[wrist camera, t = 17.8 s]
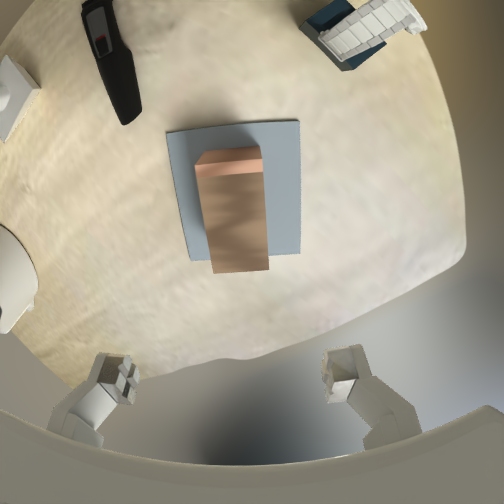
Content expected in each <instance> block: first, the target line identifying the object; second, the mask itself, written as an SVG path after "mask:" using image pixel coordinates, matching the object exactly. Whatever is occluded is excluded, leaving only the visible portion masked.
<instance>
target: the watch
mask: <svg viewBox="0 0 504 504" xmlns="http://www.w3.org/2000/svg"><path fill="white" fill-rule="evenodd" d="M384 27H385V28H384ZM299 29H300V30H301V31H302V32H303V33H304V34H305V35H306V36H307V37H308V38H309V39H311V40H312V41H313V42H314V43H315V44H316V45H317V46H318V47H319V48H320V49H321V50H322V51H323V52H324V53H325V54H326V55H327V56H328V57H329V58H330V59H331V60H332V61H333V63H334V64H335V65H336V66H337V67H338V68H339V69H340V70H341V71H349V70H354V69H355V68H357V67H358V66H359V65H360V64H362V63H363V62H364V61H366V60H367V59H368V58H369V57H371V56H372V55H373V54H375V53H376V52H377V51H378V50H380V49H381V48H382V47H384V46H385V45H386V44H387V43H386V42H385V41H384V40H386V39H388V38H389V37H391V36H393V35H395V34H396V33H398V32H399V31H401V30H403V29H405V30H406V31H407V32H409V33H411V34H417V33H419V32H421V31H422V30H424V31H425V30H427V26H426V24H425V22H424V20H423V19H422V17H421V16H420V14H419V13H418V11H417V10H416V9H415V7H414V6H413V5H412V4H411V2H410V1H409V0H370V1H368V2H367V3H366V4H364V5H362V6H361V7H360V8H358V10H357V9H355V8H354V7H353V6H352V5H351V4H350V3H349V2H348V1H347V0H335V1H333V2H332V3H330V4H329V5H327V6H326V7H324V8H323V9H321V10H320V11H318V12H317V13H316V14H314V15H313V16H312V17H310V18H309V19H307V20H306V21H305V22H304V23H303V24H302V25H301V27H300V28H299Z"/></svg>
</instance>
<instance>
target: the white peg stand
mask: <svg viewBox="0 0 504 504" xmlns="http://www.w3.org/2000/svg"><path fill="white" fill-rule="evenodd" d="M40 90H41V88H40V87H39V86H38V85H37V83H36V82H35V81H34V80H33V78H32V77H31V76H30V75H29V73H28V72H27V71H26V70H25V69H24V68H23V67H22V66H20V65H19V64H18V63H17V62H15V61H14V60H13V59H12V58H10V57H9V56H8V55H5V56H4V58H3V60H2V62H1V63H0V139H1V140H2V142H3V143H5V142H6V140H7V139H8V138H9V136H10V135H11V134H12V132H13V131H14V130H15V129H16V127H17V126H18V125H19V123H20V122H21V121H22V120H23V119H24V117H25V115H26V113H27V111H28V110H29V108H30V106H31V104H32V103H33V101H34V99H35V98H36V96H37V95H38V93H39V91H40Z"/></svg>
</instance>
